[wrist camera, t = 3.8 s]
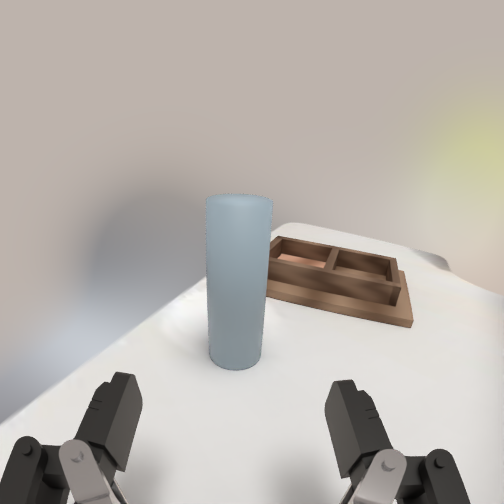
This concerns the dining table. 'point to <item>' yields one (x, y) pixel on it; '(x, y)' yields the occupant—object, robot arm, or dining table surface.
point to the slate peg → (237, 276)
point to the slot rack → (338, 281)
